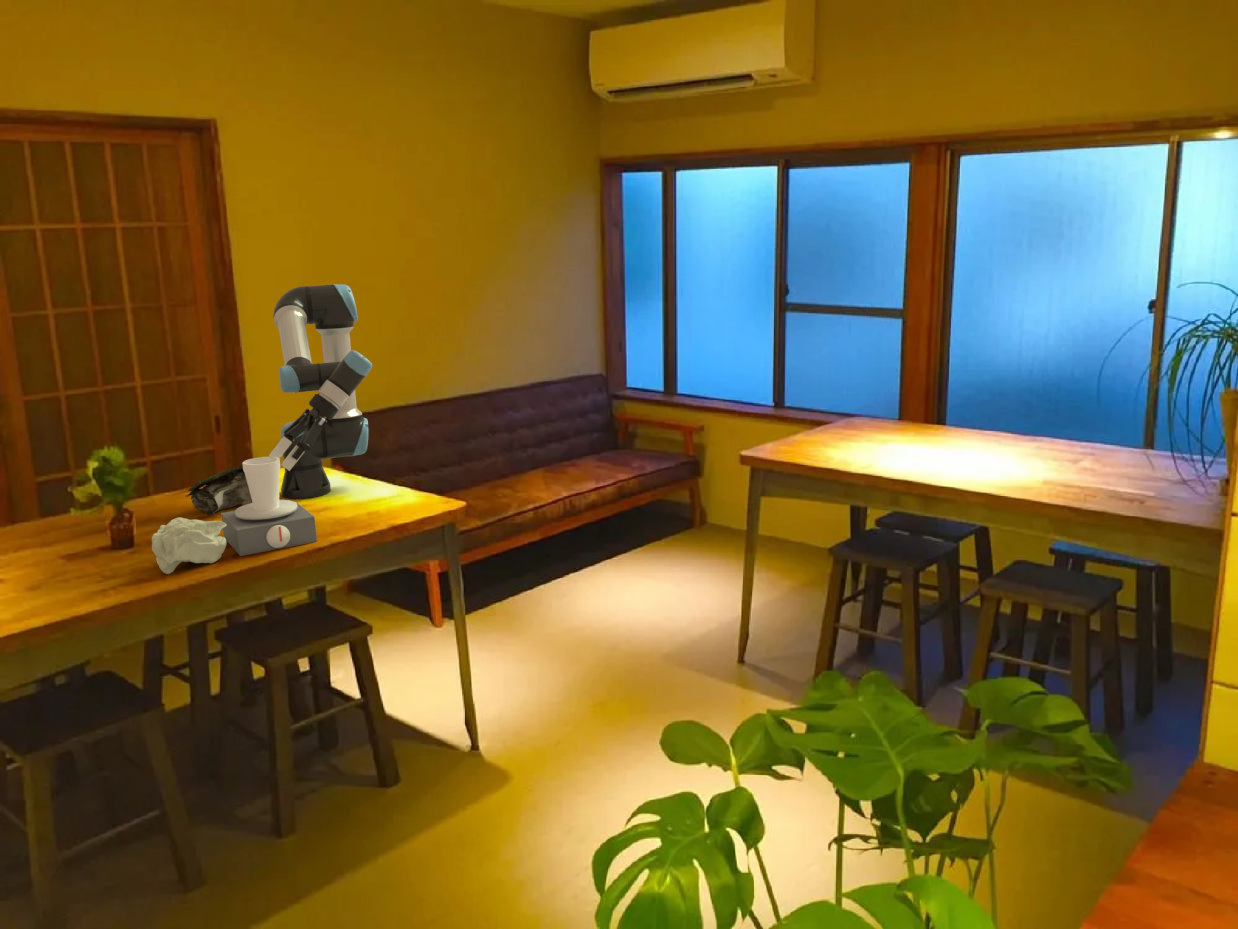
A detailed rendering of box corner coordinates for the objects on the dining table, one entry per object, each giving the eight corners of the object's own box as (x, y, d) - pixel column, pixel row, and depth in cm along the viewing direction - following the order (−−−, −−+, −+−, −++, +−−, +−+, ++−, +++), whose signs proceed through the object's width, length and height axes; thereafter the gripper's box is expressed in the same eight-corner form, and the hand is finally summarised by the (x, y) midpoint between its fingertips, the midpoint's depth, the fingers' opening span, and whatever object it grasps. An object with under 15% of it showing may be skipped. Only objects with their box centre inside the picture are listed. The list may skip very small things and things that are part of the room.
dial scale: (224, 537, 284) (220, 506, 281) (297, 524, 294) (293, 493, 292) (241, 557, 266) (236, 524, 264) (318, 542, 276) (314, 510, 274)
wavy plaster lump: (202, 582, 268) (210, 524, 272) (227, 579, 260) (235, 519, 264) (133, 573, 255) (142, 511, 259) (157, 569, 247) (167, 505, 251)
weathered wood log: (198, 534, 303) (220, 502, 296) (171, 503, 305) (191, 470, 298) (265, 506, 328) (287, 476, 321) (239, 478, 329) (260, 447, 322)
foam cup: (290, 502, 282) (285, 456, 279) (276, 512, 274) (270, 464, 270) (257, 502, 283) (251, 457, 280) (242, 512, 274) (236, 465, 271)
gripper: (352, 416, 272) (301, 480, 269) (326, 402, 293) (279, 461, 289) (330, 398, 268) (278, 463, 265) (305, 386, 289) (257, 446, 286)
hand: (278, 463), depth 277 cm, fingers open, 13 cm apart
